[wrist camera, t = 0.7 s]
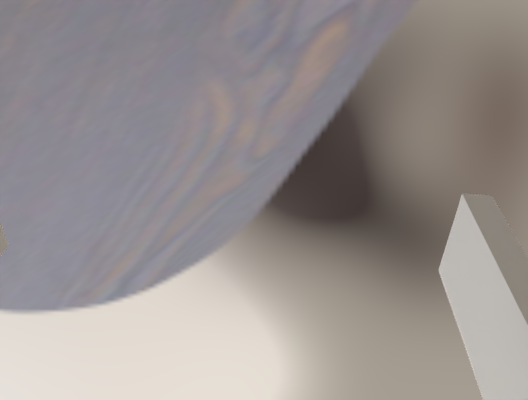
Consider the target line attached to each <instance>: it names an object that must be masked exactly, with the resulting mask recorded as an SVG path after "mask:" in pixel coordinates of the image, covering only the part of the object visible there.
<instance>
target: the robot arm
mask: <svg viewBox="0 0 528 400" xmlns="http://www.w3.org/2000/svg"><path fill="white" fill-rule="evenodd" d="M8 246H9V245H8V242H7V239H6V237H5V234H4V231H3V228H2V226H1V223H0V256H1V255H2V254H3V252H4V251H5V250H6V248H7V247H8ZM439 273H440V276H441V279H442V282H443V285H444V288H445V291H446V294H447V297H448V300H449V302H450V305H451V308H452V311H453V314H454V317H455V320H456V323H457V325H458V329H459V331H460V334H461V337H462V340H463V343H464V346H465V349H466V352H467V355H468V358H469V361H470V363H471V366H472V369H473V372H474V375H475V378H476V381H477V384H478V387H479V389H480V392H481V395H482V398H483V400H528V257H527V255H526V254H525V252H524V250H523V249H522V247H521V245H520V243H519V242H518V240H517V238H516V237H515V235H514V233H513V231H512V230H511V228H510V226H509V225H508V223H507V221H506V219H505V218H504V216H503V214H502V213H501V211H500V209H499V208H498V206H497V204H496V202H495V201H494V199H493V197H492V196H491V195H474V194H462V196H461V199H460V203H459V206H458V209H457V213H456V216H455V219H454V222H453V225H452V228H451V232H450V235H449V238H448V241H447V244H446V248H445V251H444V254H443V257H442V261H441V264H440V267H439Z"/></svg>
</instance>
